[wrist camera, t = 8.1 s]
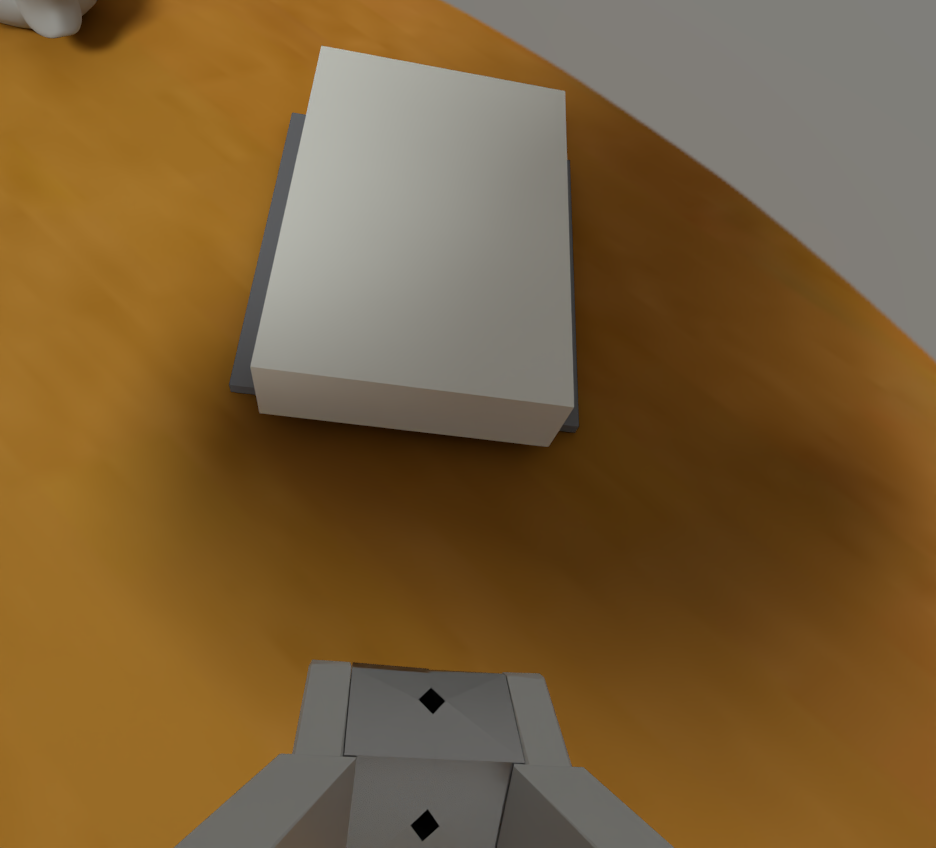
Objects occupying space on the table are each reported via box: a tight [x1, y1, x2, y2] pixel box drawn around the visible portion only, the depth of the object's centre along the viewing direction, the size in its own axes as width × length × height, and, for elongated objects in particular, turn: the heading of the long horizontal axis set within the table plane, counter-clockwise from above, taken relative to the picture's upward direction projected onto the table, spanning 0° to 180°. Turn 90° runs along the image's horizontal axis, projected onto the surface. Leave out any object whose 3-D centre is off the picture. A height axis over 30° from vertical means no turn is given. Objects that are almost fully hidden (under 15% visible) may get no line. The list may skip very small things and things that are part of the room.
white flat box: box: [250, 46, 574, 447], centre depth 21 cm, size 8×3×12 cm
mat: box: [229, 113, 579, 433], centre depth 23 cm, size 10×11×1 cm
